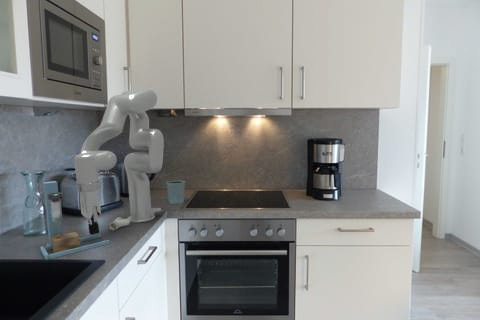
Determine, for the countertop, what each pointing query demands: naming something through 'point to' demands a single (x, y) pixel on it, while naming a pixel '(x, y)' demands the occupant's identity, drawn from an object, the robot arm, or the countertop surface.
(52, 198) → the ram
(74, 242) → the housing
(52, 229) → the press
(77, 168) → the robot arm
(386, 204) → the countertop surface
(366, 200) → the countertop surface
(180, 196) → the drinking glass
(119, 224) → the pipe fitting
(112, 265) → the countertop surface
